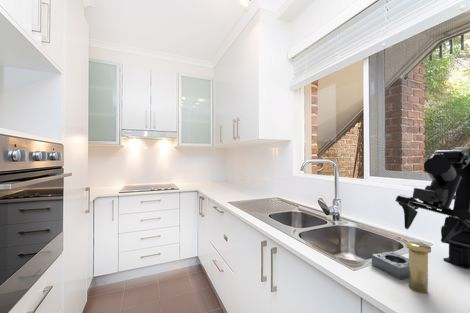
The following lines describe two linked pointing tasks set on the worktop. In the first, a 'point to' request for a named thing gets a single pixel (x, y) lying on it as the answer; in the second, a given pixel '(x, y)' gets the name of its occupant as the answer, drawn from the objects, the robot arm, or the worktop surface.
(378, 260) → the jig
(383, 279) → the worktop surface
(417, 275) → the brass flanged cylinder
